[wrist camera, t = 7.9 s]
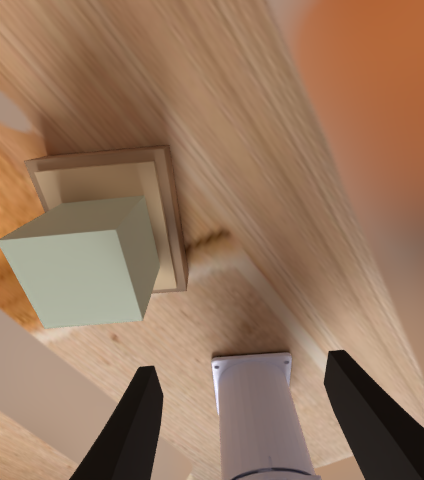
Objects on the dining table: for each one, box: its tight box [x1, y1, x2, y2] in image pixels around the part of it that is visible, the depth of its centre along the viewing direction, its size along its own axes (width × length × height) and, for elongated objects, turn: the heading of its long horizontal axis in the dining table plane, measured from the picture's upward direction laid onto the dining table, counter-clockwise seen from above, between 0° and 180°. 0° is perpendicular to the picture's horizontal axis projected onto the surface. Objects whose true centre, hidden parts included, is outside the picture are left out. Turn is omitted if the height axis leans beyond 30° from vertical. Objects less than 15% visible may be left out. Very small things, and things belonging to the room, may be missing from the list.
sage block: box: [0, 195, 160, 329], centre depth 13 cm, size 5×5×5 cm
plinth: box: [24, 145, 189, 294], centre depth 17 cm, size 10×8×3 cm
